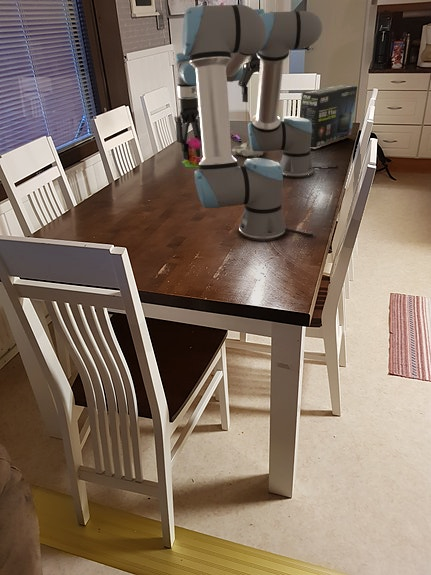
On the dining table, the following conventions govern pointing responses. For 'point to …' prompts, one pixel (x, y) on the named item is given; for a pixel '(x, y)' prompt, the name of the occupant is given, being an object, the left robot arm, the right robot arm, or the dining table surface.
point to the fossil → (246, 150)
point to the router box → (329, 112)
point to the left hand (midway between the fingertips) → (192, 157)
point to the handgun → (237, 137)
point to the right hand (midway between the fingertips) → (255, 99)
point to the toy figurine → (192, 153)
